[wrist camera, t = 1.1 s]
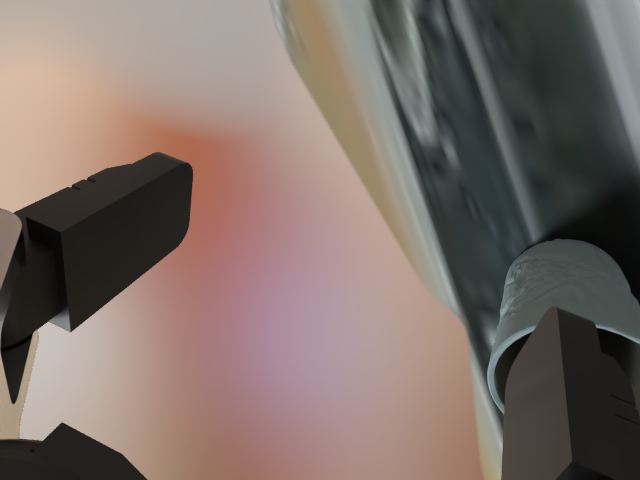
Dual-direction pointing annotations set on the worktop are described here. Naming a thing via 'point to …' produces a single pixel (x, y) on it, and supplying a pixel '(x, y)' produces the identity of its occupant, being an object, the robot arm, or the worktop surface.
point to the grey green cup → (566, 306)
